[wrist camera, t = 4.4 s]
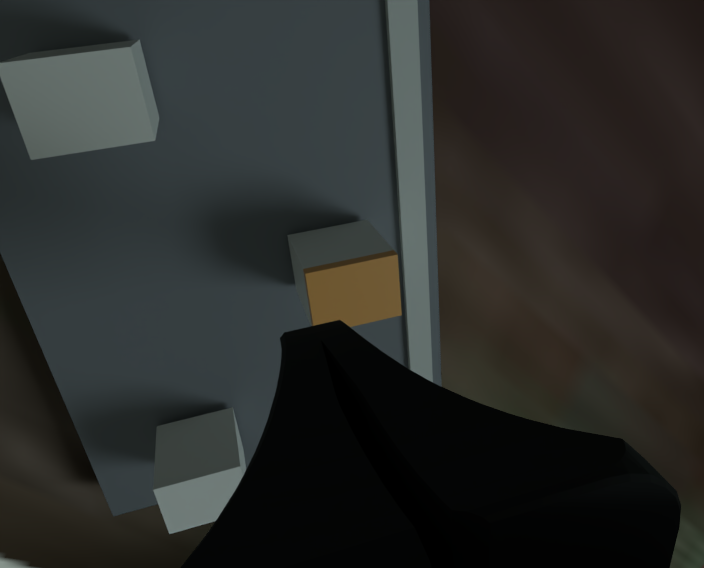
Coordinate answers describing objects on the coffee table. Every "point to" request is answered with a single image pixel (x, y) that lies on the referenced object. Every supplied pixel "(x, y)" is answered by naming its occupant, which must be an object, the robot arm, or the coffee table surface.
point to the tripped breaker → (346, 274)
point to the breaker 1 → (81, 98)
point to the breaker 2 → (197, 468)
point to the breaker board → (216, 208)
